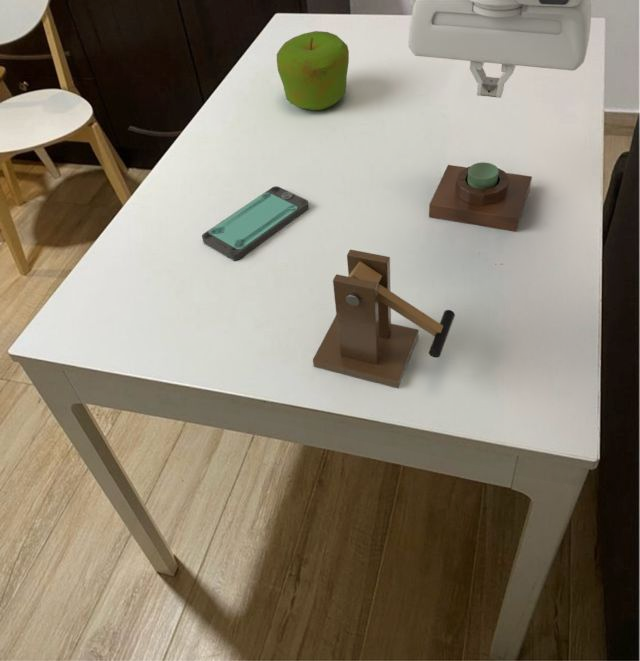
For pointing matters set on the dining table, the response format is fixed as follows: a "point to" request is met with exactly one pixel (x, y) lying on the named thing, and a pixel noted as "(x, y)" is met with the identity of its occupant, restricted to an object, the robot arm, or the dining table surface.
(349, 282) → the switch bracket
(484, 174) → the light button
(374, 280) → the switch lever
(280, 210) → the smartphone
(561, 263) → the dining table surface
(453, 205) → the button block
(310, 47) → the apple
